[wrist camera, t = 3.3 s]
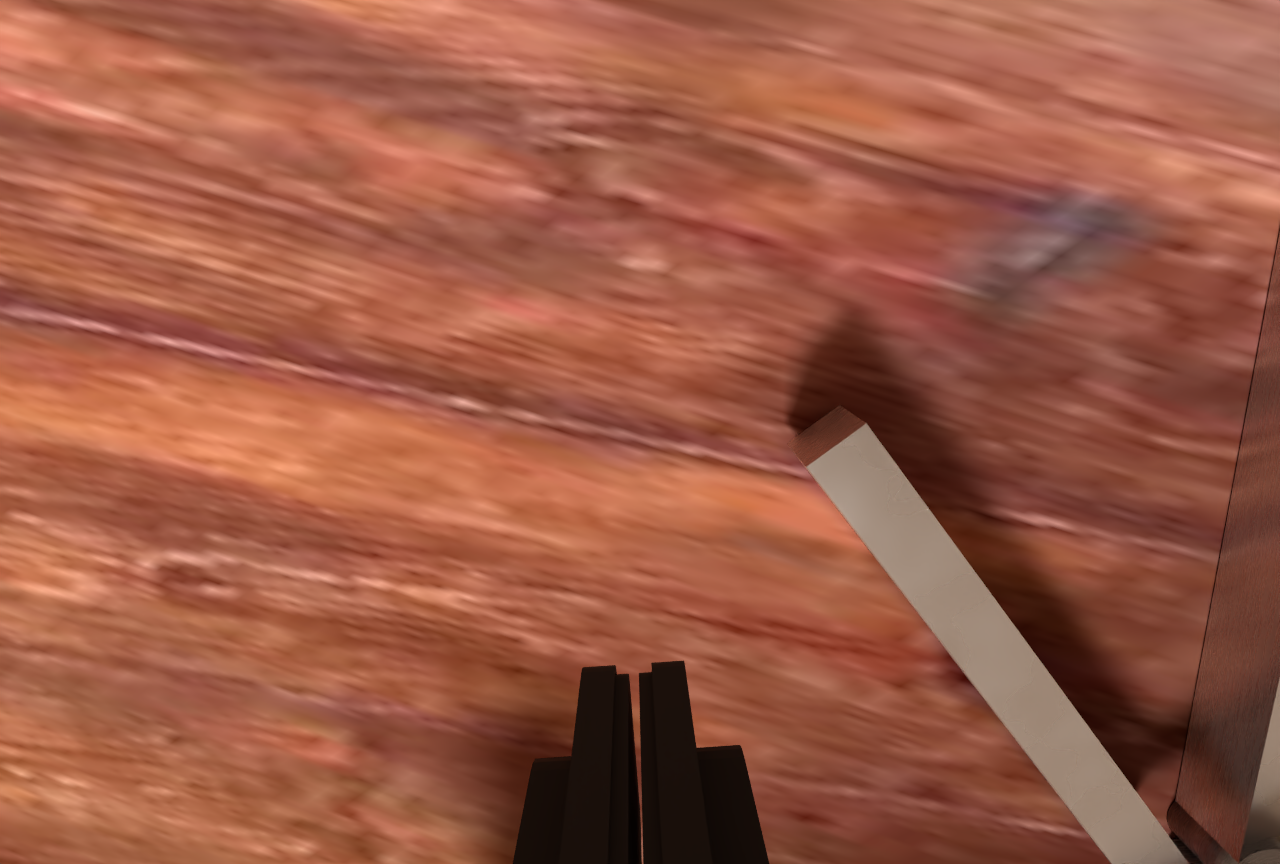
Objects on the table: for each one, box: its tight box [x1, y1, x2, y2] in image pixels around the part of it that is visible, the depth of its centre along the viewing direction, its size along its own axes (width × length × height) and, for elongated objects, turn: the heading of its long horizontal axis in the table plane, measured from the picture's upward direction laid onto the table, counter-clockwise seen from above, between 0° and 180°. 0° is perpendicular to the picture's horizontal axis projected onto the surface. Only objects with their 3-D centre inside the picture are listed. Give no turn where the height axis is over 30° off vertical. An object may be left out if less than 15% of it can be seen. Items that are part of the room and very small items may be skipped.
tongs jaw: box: [787, 405, 1189, 864], centre depth 20 cm, size 6×24×4 cm, turn 39°
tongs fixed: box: [1167, 233, 1280, 864], centre depth 20 cm, size 2×31×4 cm, turn 3°
